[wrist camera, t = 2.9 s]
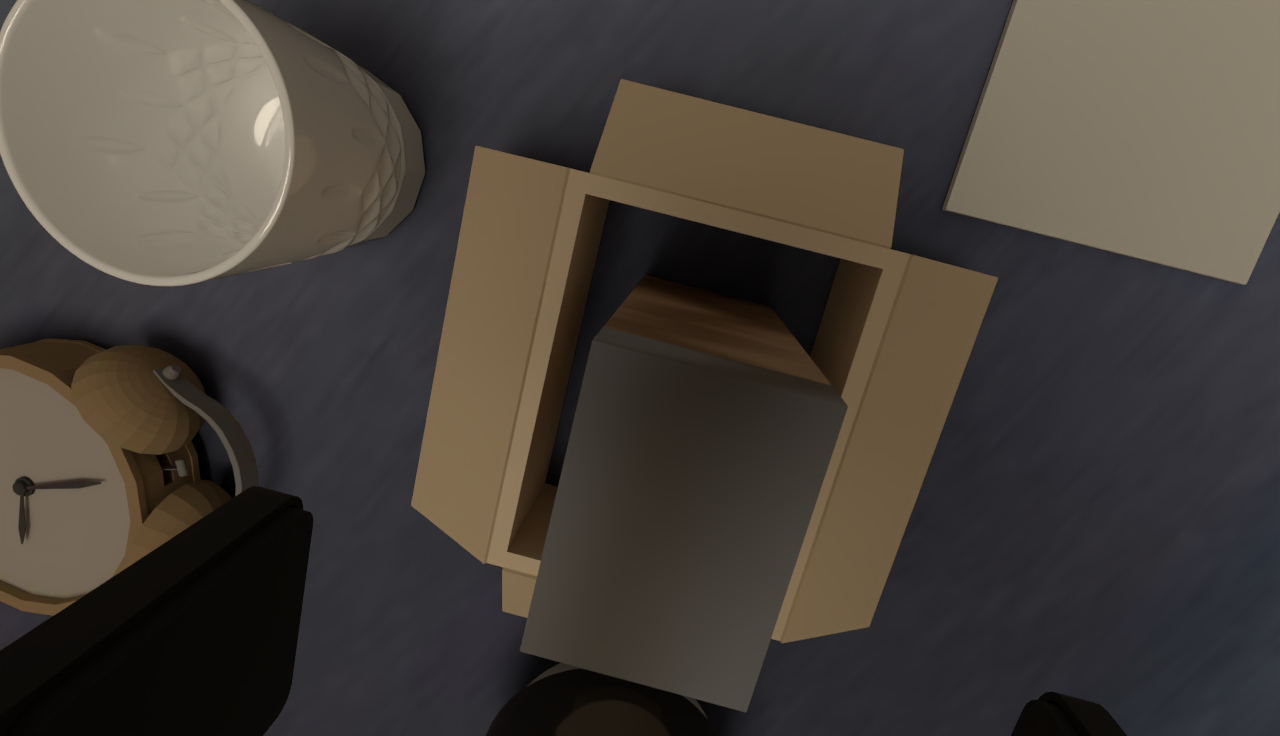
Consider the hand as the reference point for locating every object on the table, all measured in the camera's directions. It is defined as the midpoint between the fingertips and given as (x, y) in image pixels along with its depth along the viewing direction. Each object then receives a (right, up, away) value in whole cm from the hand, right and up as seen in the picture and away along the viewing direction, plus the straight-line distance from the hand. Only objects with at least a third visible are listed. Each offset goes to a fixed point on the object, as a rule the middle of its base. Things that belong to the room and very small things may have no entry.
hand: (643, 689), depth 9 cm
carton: (+2, +4, +19) cm, 19 cm away
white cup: (-12, +12, +18) cm, 25 cm away
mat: (+18, +14, +15) cm, 27 cm away
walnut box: (+2, +4, +19) cm, 19 cm away
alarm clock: (-23, 0, +22) cm, 32 cm away
